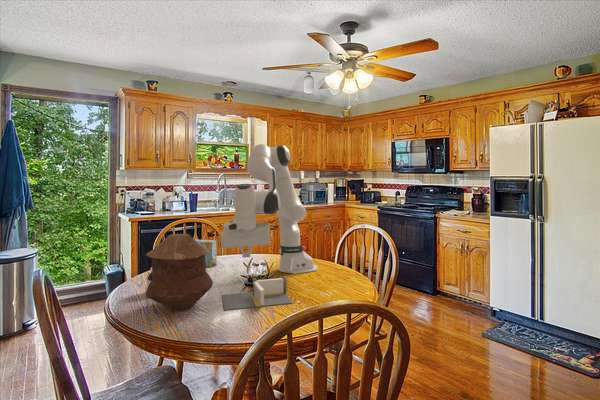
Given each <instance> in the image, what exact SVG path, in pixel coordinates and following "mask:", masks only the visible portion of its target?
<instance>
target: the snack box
mask: <svg viewBox="0 0 600 400" xmlns="http://www.w3.org/2000/svg"><path fill="white" fill-rule="evenodd" d="M193 239H194V240H195V241H196V242H197V243H198V244H199V245H201V246H202V247H203V248H205V249H206V250H207V251H208V253H207V254H205V262H206V268H214V267H216V266H217V258H218V257H217V240H210V239H196V238H193Z"/></svg>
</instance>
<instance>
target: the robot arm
mask: <svg viewBox="0 0 600 400" xmlns="http://www.w3.org/2000/svg"><path fill="white" fill-rule="evenodd" d="M248 156H249V157H248V159H247V165H246V170H247V172H248V174H249V175H250V177H252V178H254V179H255V180H256V181H260V182H264V183H267V184H268V190H263V191H262V190H261V191H260V190H257V191H256V190H255V189H256V188H255V185H253V184H251V183H241V184H238V185H236V186H235V190H234V198H233V202H234V203H233V204H234V205H233V208H234V210H235V212H234V218H233V219H231V220H230V221H227V222H224V223H223V229H222V231H221V234H220V235H221V236H220V246H221V248H222V249H233V248H239V250H240V251H241V253H242V258H243V259H244V258H251V253H252V250H253V249H254V247H257V246H258V247H259V246H269V245H270V244H271V235H270V234H271V233H270V232H271V225H270V224H269V223H267V222H257V214H263V215H264V214H267V215H275V213H276V215H277V219H278V223H279V229H280V245H279V255H280V257H279V263H278V268H277V270H278V272H282V273H288V274H292V275H295V274H304V273H309V272H316V271H318V266H317V265H315V263H314V260H313V258H312V256H310V255H309V254H308V253H307V252H305V251H306V249H307V247H306V246H305V245H302V244H301V230H300V228H299V225H298V223H299V222H301V221H303V220H304V219H305V218H306V215H307V210H306V208H305V206H304V205H303V203H302V202H301V200H300V198H299V195H298V194H297V192H296V189H295V187H294V183H293V179H292V175H291V173H290V170H289V167H288V164H289V163H290V161H291V153H290V149H288V147H287V146H286V145H283V144H282V145H277V146H272V147H271V146H267V145H266V144H262V143H259V144H257V145H255V146H254V147H253V148H252V150H251V152H250V154H249V155H248ZM246 247H248V250H247V251H246V252H245V251H244V250H245V248H246Z"/></svg>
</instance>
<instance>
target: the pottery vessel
mask: <svg viewBox="0 0 600 400" xmlns="http://www.w3.org/2000/svg"><path fill="white" fill-rule="evenodd" d="M194 239H195V238H193V237H192V235H190V234H188V233H176V234H175V233H173V234H169V235H167V236H166V237H165V238H164V239H163V240H162V241H160V242H159V244H158V245H157V246H156V247H154V248H153V249H152V250H150V251H149V252H147V253H146V254H145V256H146V257H149V258H151V268H152V281H151V282H150V284H149V285H148V288H147V287H146V296H147V298H148V299H150V300H151V301H154V302H155V303H157V304H160V305H162V306H165V307H168V308H170V310H171V311H174V312H185V311H188V310H190V309H192V308H194V307H195V305H196V304H197V303H198V302H199V301H200V300H201V299H202V298H203V297H204V296H205V295H206V294H207V293H208V292H210V290H211V289H212V287H213V284H214V281H213V279H212V277H211V276H210V275H209V273H208V272H207V269H206V268H207V267H206V262H205V254H207V253H208V251H207V250H206V249H205V248H203V247H202V246H201V245H199V244H198V243H197V242H196V241H195V240H194Z"/></svg>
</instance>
